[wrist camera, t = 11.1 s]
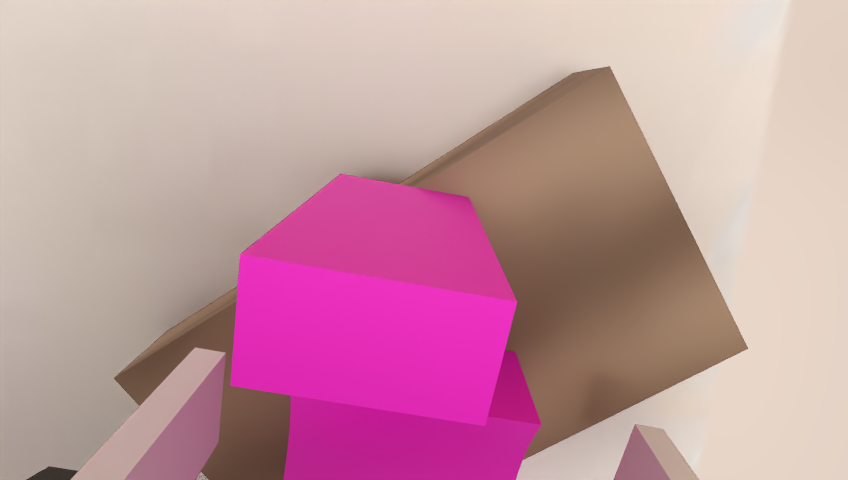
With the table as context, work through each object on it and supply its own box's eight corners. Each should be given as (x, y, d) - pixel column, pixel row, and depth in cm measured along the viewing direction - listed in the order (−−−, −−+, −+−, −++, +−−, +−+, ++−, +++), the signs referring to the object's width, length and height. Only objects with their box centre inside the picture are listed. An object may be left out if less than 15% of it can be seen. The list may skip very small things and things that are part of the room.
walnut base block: (176, 322, 19) (113, 378, 15) (567, 74, 16) (609, 66, 12) (319, 488, 22) (296, 572, 18) (682, 297, 19) (748, 348, 15)
